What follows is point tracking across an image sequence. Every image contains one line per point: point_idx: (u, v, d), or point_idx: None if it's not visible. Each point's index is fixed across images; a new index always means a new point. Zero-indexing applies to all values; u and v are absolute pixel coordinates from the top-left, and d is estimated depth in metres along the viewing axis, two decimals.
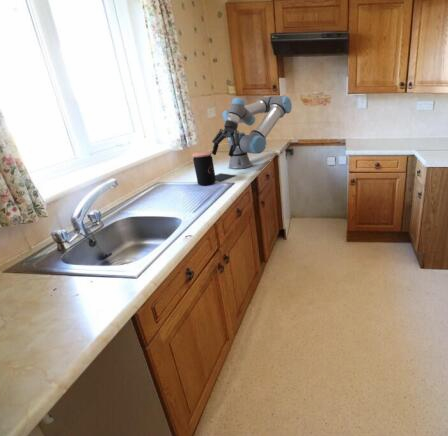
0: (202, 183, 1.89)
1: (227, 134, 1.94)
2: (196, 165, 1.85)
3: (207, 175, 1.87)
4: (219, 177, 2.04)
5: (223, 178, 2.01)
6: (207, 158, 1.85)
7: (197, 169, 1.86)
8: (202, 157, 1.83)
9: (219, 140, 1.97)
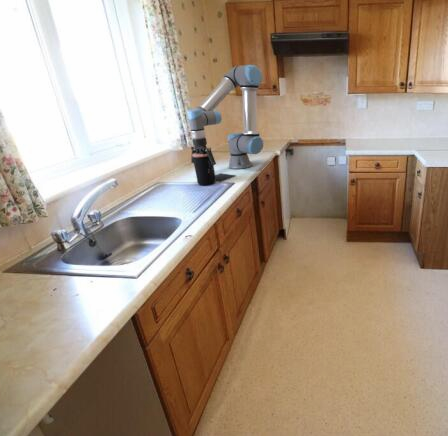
0: (202, 183, 1.89)
1: (200, 152, 1.86)
2: (196, 165, 1.85)
3: (207, 175, 1.87)
4: (219, 177, 2.04)
5: (223, 178, 2.01)
6: (207, 158, 1.85)
7: (197, 169, 1.86)
8: (202, 157, 1.83)
9: None
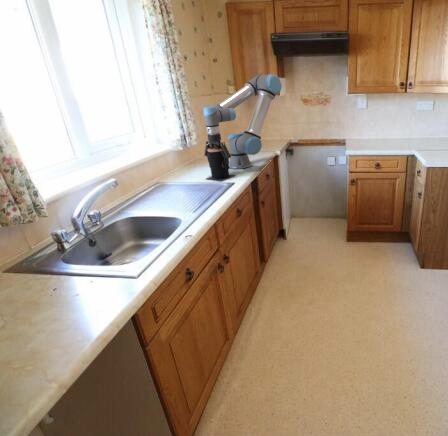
0: (216, 177, 1.99)
1: (215, 147, 1.96)
2: (211, 159, 1.96)
3: (221, 169, 1.98)
4: None
5: None
6: None
7: (212, 163, 1.96)
8: (217, 152, 1.93)
9: None
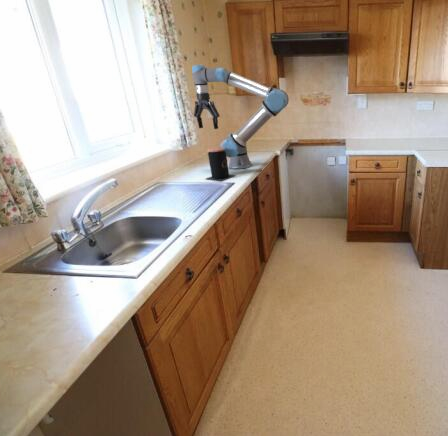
0: (216, 177, 1.99)
1: (204, 107, 1.99)
2: (211, 159, 1.96)
3: (221, 168, 1.98)
4: None
5: None
6: (221, 153, 1.95)
7: (212, 163, 1.96)
8: (217, 152, 1.93)
9: (199, 113, 2.04)
